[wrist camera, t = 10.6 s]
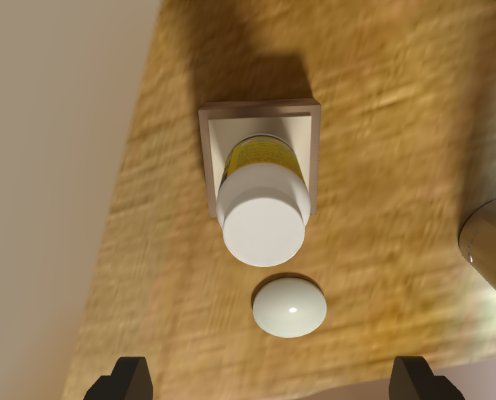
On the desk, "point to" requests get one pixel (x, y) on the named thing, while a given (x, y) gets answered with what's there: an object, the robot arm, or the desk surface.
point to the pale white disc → (289, 307)
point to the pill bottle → (263, 201)
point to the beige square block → (260, 122)
